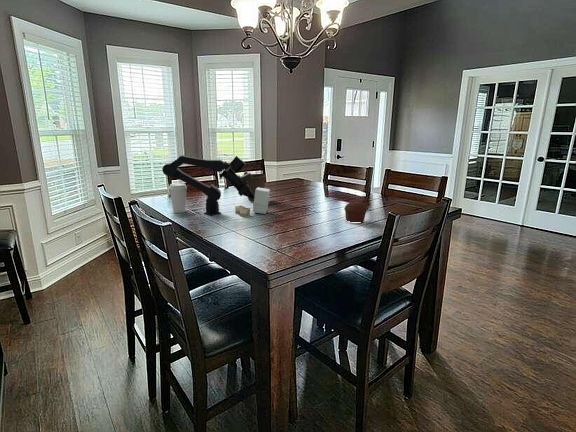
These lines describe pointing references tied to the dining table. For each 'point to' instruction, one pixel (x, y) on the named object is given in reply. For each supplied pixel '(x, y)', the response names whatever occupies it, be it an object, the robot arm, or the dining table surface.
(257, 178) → the plant pot
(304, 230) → the dining table surface
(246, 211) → the marked block
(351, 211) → the muffin
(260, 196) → the supplement box
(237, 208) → the marked block
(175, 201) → the coffee cup
